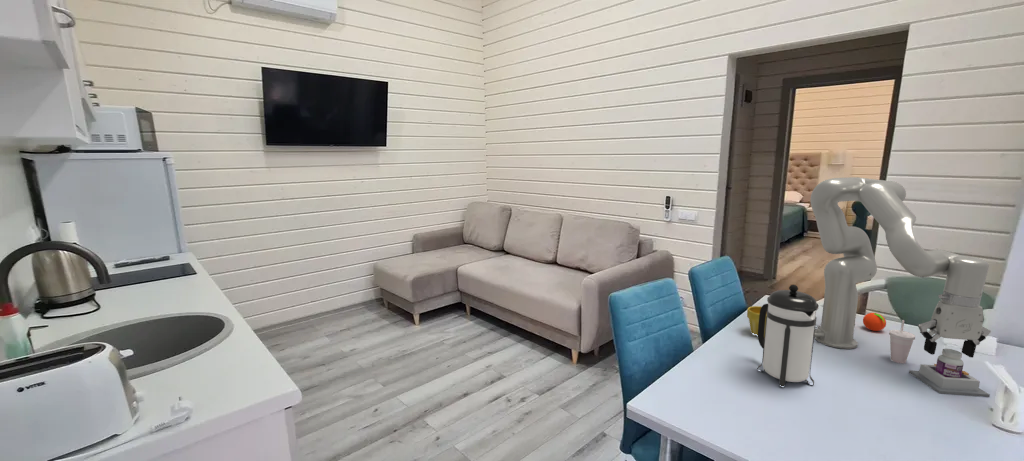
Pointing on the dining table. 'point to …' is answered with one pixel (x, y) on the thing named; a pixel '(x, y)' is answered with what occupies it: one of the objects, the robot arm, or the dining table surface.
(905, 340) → the smoothie
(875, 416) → the dining table surface
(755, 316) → the plant pot
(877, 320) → the clementine
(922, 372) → the socket
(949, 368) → the pill bottle
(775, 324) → the coffee press
